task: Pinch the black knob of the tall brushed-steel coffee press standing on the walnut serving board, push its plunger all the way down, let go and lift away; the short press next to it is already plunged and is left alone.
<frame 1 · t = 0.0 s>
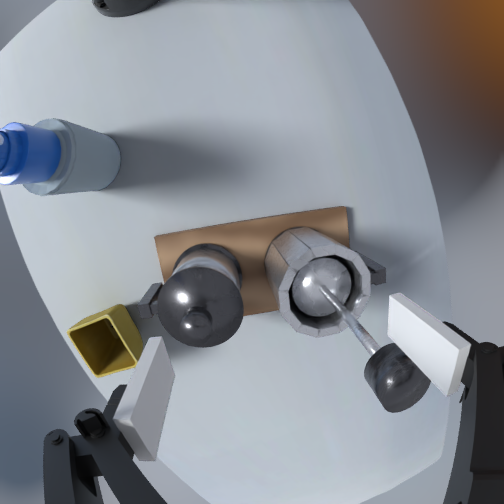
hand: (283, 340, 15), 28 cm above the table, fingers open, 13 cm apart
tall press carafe: (299, 261, 42), resting on serving board
short press: (207, 277, 42), resting on serving board
spray bottle: (95, 162, 38), on the table
plunger: (352, 323, 23), point 22 cm above the table, slide at 0.0 cm
flower pot: (120, 321, 44), on the table
serving board: (257, 265, 44), on the table
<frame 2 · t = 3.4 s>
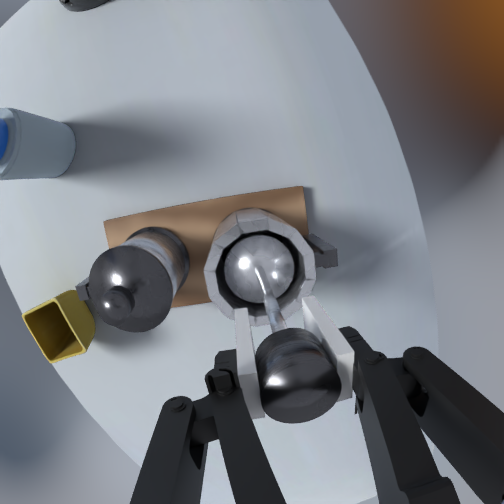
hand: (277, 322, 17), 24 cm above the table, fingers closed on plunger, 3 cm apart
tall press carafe: (251, 246, 39), resting on serving board
short press: (154, 262, 39), resting on serving board
spray bottle: (54, 150, 35), on the table
plunger: (271, 306, 20), point 22 cm above the table, slide at 0.0 cm, touching gripper
flower pot: (77, 308, 41), on the table
serving board: (208, 250, 41), on the table
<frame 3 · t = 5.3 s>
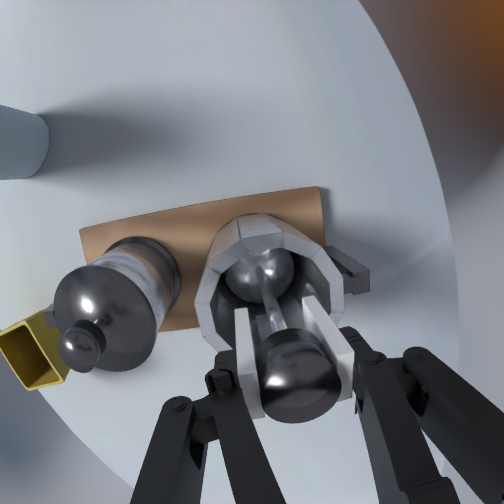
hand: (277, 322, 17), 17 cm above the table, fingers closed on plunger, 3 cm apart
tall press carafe: (256, 260, 32), resting on serving board
short press: (139, 278, 32), resting on serving board
spray bottle: (27, 146, 28), on the table
plunger: (271, 306, 20), point 14 cm above the table, slide at 7.5 cm, touching gripper
flower pot: (56, 328, 34), on the table
serving board: (203, 265, 33), on the table
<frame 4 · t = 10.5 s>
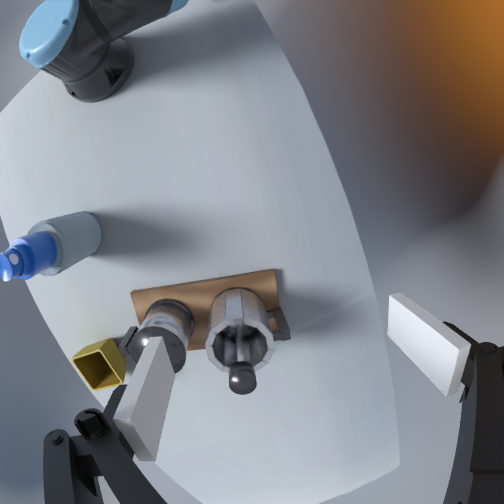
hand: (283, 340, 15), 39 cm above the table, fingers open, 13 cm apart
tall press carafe: (237, 312, 55), resting on serving board
short press: (169, 321, 54), resting on serving board
spray bottle: (83, 233, 51), on the table
plunger: (240, 346, 43), point 14 cm above the table, slide at 7.5 cm
flower pot: (110, 349, 57), on the table
serving board: (207, 313, 56), on the table
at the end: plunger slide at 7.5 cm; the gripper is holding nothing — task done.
